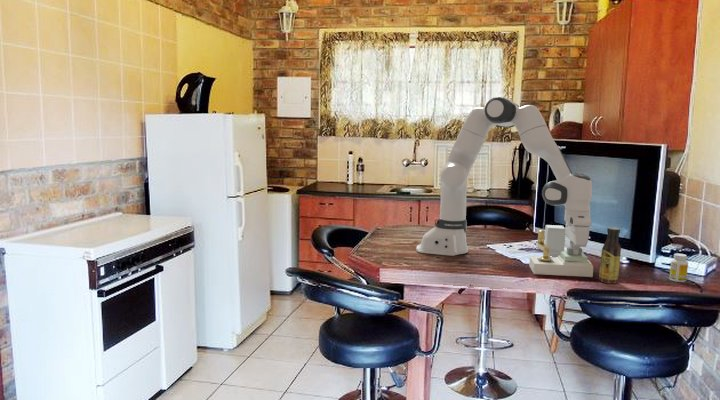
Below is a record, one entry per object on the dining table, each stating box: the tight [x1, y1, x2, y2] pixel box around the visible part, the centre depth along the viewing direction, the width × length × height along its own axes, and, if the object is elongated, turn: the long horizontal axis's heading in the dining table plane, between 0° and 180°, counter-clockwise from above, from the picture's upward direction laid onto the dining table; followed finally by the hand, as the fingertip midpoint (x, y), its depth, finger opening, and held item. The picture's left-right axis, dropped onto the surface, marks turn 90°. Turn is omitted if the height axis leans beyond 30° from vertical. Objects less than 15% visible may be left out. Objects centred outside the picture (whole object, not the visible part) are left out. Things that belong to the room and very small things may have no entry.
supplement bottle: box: [668, 253, 689, 283], centre depth 198 cm, size 5×5×10 cm
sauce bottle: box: [598, 226, 622, 285], centre depth 195 cm, size 7×6×20 cm
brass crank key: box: [537, 229, 551, 262], centre depth 211 cm, size 10×4×10 cm, turn 0°
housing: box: [528, 255, 594, 278], centre depth 208 cm, size 21×11×5 cm, turn 82°
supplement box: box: [544, 224, 566, 258], centre depth 232 cm, size 7×7×13 cm
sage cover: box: [561, 246, 589, 262], centre depth 207 cm, size 8×8×4 cm
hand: (574, 252), depth 207 cm, fingers closed on sage cover, 2 cm apart
